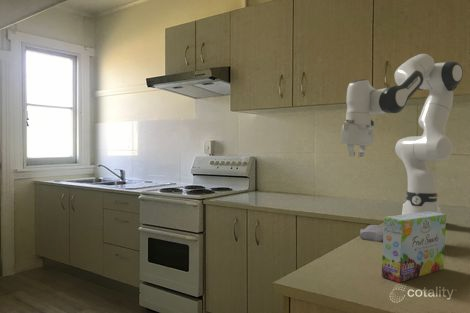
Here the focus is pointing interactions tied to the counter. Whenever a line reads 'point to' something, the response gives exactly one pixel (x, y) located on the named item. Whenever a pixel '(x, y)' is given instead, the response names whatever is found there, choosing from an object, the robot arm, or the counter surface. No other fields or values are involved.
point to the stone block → (372, 233)
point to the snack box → (413, 245)
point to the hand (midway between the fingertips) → (356, 156)
